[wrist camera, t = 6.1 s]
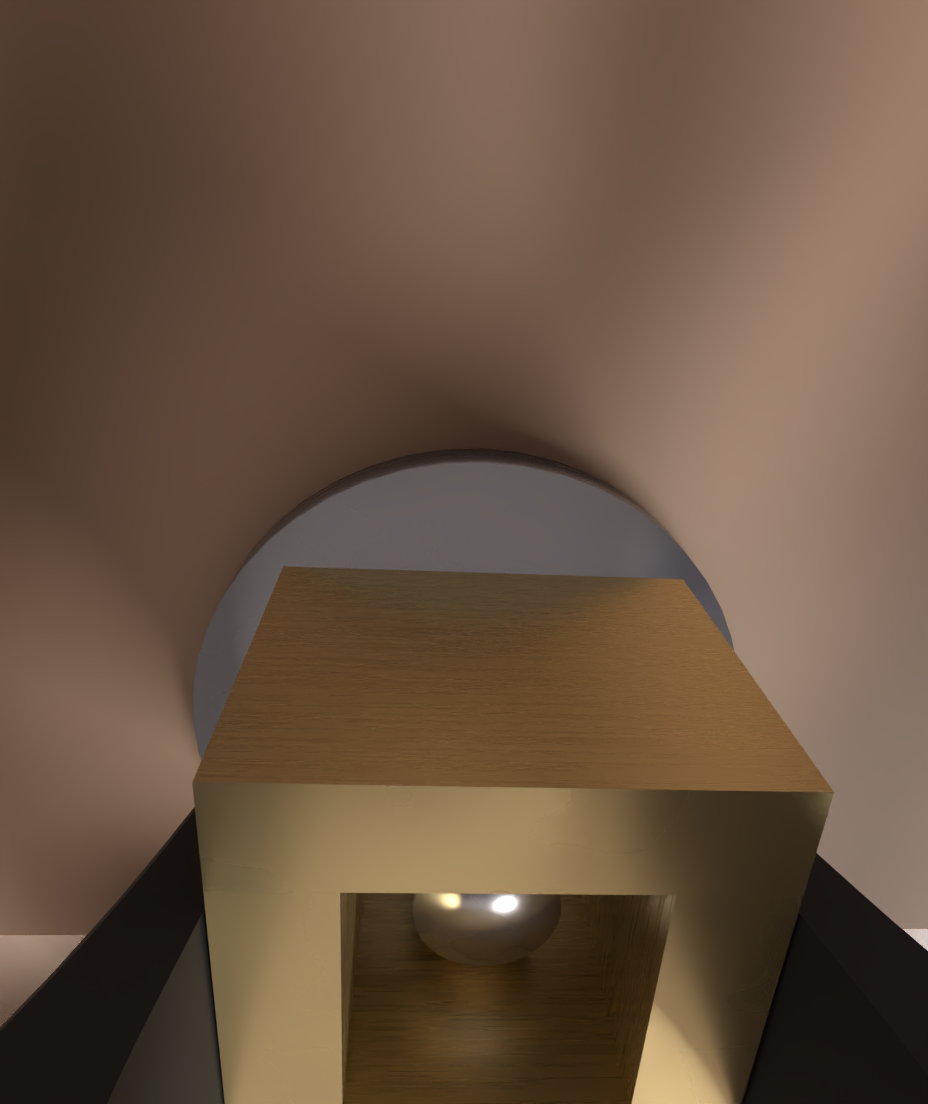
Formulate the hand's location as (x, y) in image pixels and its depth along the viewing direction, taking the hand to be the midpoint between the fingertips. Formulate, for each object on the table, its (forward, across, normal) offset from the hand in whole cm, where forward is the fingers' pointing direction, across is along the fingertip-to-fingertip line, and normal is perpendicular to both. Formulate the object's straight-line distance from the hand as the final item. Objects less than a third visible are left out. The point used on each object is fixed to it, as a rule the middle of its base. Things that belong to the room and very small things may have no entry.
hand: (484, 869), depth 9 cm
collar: (+2, 0, 0) cm, 2 cm away
